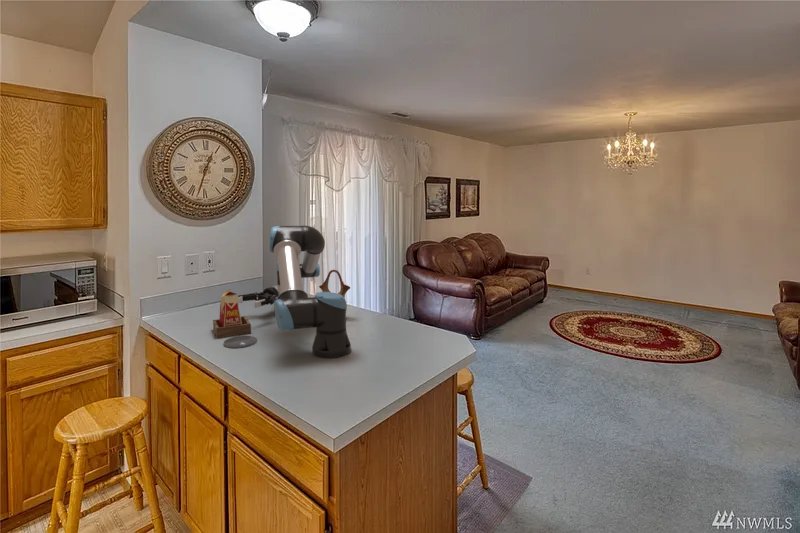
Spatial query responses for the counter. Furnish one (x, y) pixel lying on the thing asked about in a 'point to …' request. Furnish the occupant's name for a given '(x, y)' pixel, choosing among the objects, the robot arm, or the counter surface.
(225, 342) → the slate coaster
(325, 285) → the brown handbag
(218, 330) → the walnut cradle
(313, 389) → the counter surface
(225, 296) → the milk carton
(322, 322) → the robot arm
